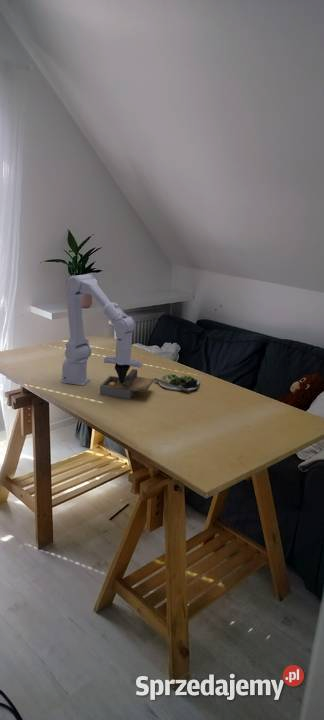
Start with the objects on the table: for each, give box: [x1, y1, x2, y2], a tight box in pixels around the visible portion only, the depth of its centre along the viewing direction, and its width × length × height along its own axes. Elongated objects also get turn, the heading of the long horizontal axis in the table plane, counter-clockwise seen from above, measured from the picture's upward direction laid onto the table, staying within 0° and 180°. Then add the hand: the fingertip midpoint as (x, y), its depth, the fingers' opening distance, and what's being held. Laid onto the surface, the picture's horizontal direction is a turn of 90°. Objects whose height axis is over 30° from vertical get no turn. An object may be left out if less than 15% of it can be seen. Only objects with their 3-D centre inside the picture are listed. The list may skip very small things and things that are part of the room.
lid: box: [114, 368, 154, 393], centre depth 201 cm, size 13×13×4 cm
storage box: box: [99, 375, 136, 400], centre depth 203 cm, size 12×12×4 cm
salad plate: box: [152, 374, 201, 393], centre depth 215 cm, size 19×18×5 cm
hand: (121, 382), depth 197 cm, fingers closed
